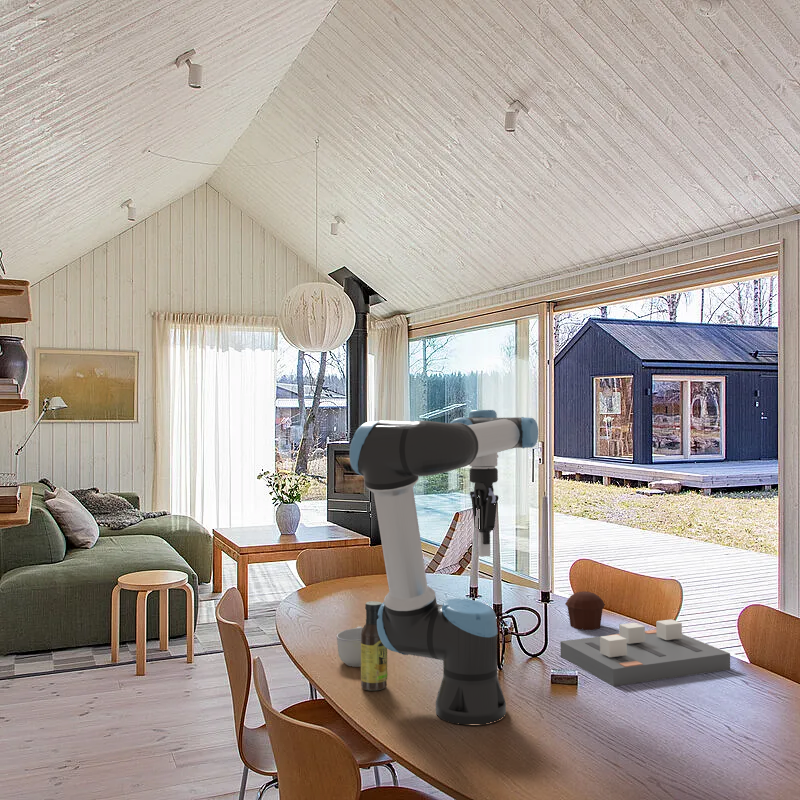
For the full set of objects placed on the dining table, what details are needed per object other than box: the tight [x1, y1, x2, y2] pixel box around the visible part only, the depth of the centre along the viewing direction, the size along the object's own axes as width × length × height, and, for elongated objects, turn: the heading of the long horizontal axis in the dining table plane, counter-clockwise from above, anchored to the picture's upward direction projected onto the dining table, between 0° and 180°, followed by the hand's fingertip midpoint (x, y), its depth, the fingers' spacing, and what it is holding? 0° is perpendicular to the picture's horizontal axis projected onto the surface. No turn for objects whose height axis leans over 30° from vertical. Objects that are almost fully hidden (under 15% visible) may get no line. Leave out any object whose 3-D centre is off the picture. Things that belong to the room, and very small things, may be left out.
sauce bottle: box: [360, 600, 388, 692], centre depth 186 cm, size 6×6×20 cm
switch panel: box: [559, 629, 731, 687], centre depth 202 cm, size 24×34×4 cm
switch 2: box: [655, 619, 683, 640], centre depth 209 cm, size 4×5×4 cm
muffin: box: [565, 591, 606, 631], centre depth 237 cm, size 12×11×10 cm
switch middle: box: [618, 622, 646, 644], centre depth 206 cm, size 4×5×4 cm
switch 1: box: [599, 634, 627, 657], centre depth 196 cm, size 4×5×4 cm
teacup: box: [336, 626, 363, 668], centre depth 206 cm, size 14×11×8 cm
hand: (484, 555), depth 210 cm, fingers closed
